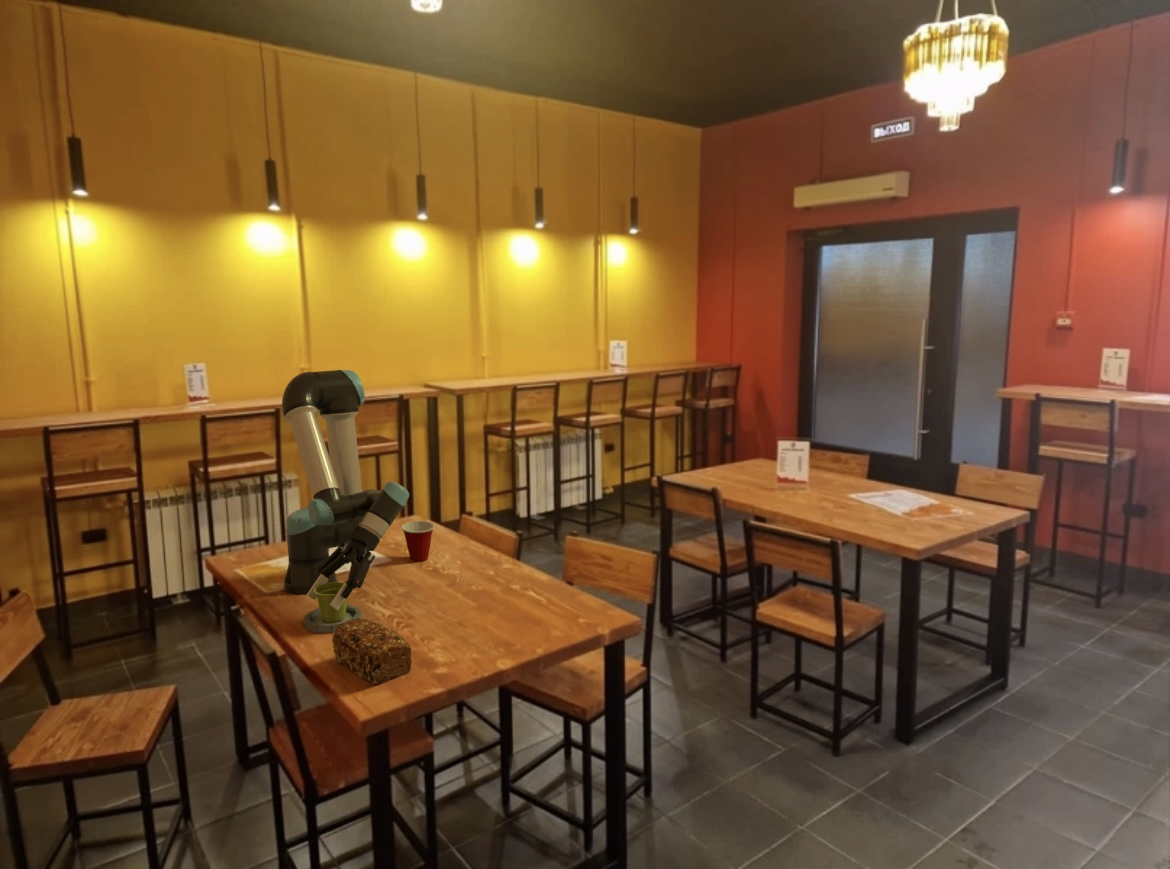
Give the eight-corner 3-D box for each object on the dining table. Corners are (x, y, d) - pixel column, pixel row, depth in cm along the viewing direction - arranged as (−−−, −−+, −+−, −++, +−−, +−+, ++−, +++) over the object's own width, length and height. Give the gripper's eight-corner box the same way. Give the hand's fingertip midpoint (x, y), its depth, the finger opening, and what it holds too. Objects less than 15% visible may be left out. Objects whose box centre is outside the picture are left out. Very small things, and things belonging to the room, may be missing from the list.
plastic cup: (408, 567, 255) (407, 531, 253) (398, 558, 265) (397, 523, 263) (440, 561, 261) (439, 526, 259) (429, 552, 270) (428, 519, 268)
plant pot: (309, 625, 207) (308, 594, 205) (321, 611, 216) (320, 581, 214) (345, 626, 207) (344, 595, 205) (355, 611, 216) (354, 582, 214)
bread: (332, 662, 188) (330, 623, 186) (372, 648, 195) (370, 610, 194) (373, 688, 175) (371, 646, 173) (414, 672, 182) (412, 632, 181)
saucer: (296, 633, 204) (296, 625, 204) (315, 611, 219) (315, 604, 218) (351, 632, 204) (351, 625, 204) (367, 611, 218) (366, 604, 218)
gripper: (403, 547, 212) (356, 619, 203) (354, 532, 227) (308, 598, 218) (385, 533, 208) (336, 606, 198) (337, 518, 222) (289, 585, 213)
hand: (322, 602), depth 208 cm, fingers open, 11 cm apart
